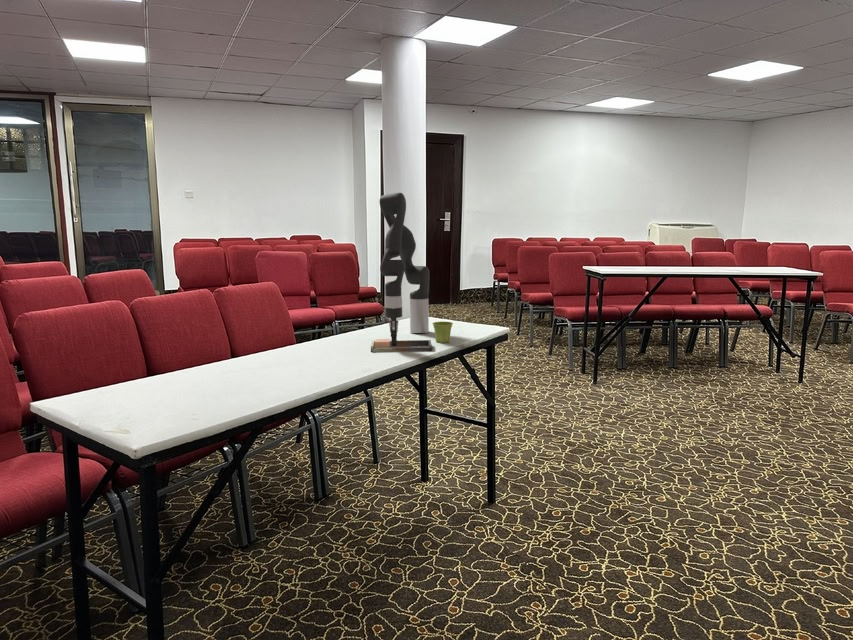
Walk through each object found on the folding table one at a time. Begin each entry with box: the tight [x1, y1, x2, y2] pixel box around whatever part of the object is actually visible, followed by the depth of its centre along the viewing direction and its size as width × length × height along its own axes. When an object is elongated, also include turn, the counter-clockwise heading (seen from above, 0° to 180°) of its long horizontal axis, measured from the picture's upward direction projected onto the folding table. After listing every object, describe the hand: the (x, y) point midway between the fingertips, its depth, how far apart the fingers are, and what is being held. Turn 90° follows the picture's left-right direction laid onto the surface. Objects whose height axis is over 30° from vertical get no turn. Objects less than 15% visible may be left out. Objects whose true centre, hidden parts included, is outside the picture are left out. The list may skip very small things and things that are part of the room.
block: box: [374, 338, 391, 348], centre depth 254 cm, size 6×6×4 cm
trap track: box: [370, 339, 433, 353], centre depth 254 cm, size 11×26×2 cm, turn 92°
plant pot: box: [431, 321, 454, 344], centre depth 268 cm, size 9×9×9 cm
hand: (394, 345), depth 254 cm, fingers closed
